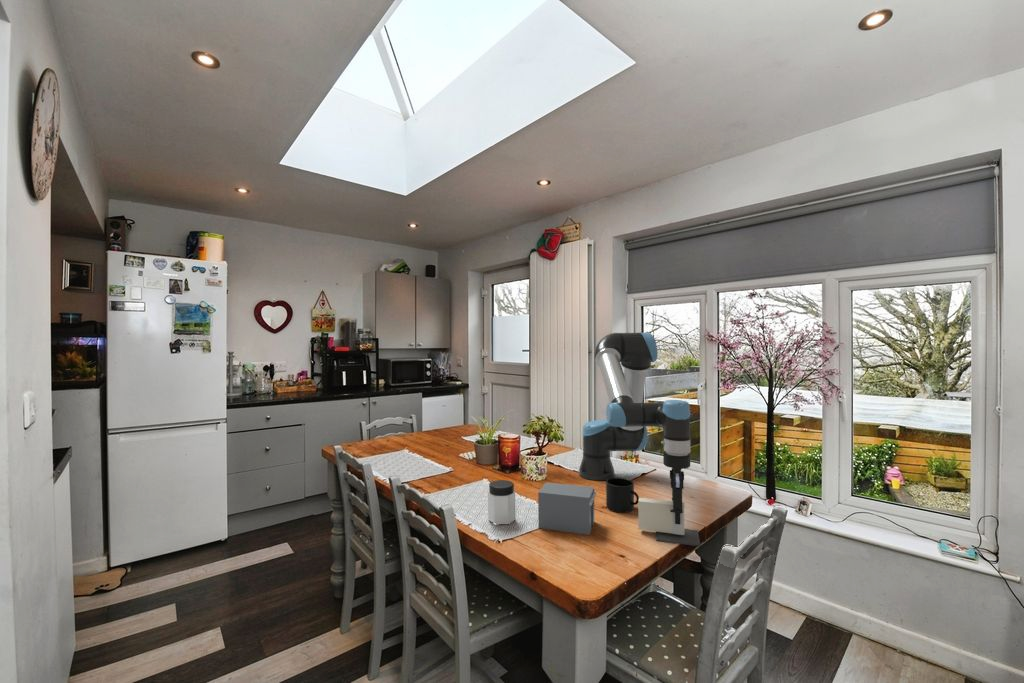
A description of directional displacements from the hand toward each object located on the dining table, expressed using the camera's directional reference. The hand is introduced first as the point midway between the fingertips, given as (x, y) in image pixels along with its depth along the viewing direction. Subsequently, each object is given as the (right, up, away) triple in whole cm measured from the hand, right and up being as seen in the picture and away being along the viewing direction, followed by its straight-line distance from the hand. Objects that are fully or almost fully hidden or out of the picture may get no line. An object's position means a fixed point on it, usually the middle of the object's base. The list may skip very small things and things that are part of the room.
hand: (677, 531), depth 130 cm
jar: (-53, -2, +13) cm, 54 cm away
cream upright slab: (-4, 0, +1) cm, 5 cm away
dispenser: (-32, -2, +9) cm, 33 cm away
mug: (-11, -2, +22) cm, 24 cm away
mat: (0, -2, 0) cm, 2 cm away
